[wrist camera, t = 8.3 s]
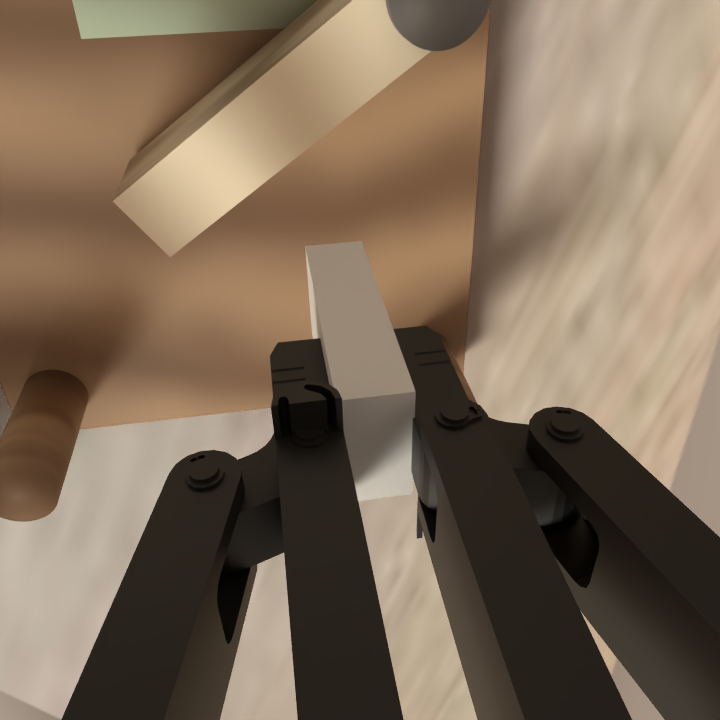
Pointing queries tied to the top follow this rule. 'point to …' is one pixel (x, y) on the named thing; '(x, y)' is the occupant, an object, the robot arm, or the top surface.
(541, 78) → the top surface
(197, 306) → the wooden peg board
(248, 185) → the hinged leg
